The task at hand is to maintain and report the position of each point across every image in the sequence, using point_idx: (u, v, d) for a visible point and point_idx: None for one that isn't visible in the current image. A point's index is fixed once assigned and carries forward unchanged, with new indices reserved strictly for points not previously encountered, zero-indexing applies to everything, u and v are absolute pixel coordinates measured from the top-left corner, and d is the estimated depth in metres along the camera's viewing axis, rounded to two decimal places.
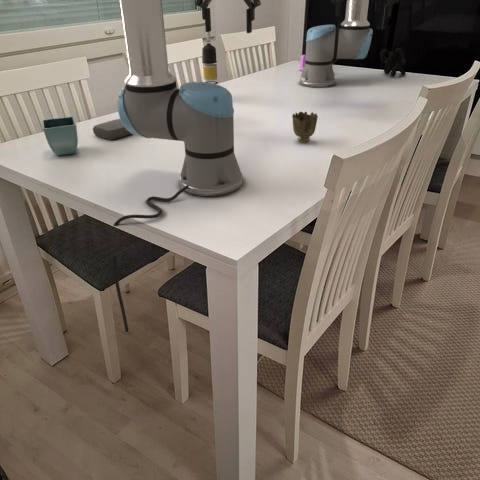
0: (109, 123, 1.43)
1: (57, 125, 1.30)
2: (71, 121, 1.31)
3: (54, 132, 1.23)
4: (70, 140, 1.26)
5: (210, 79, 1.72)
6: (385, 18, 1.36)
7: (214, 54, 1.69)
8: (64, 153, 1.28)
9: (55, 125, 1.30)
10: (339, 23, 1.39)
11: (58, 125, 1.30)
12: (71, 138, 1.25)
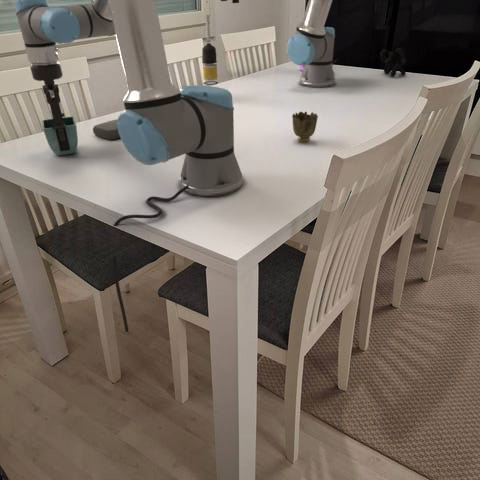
0: (109, 123, 1.43)
1: None
2: (71, 121, 1.31)
3: (54, 132, 1.23)
4: (70, 140, 1.26)
5: (210, 79, 1.72)
6: None
7: (214, 54, 1.69)
8: (64, 153, 1.28)
9: None
10: None
11: None
12: (71, 138, 1.25)
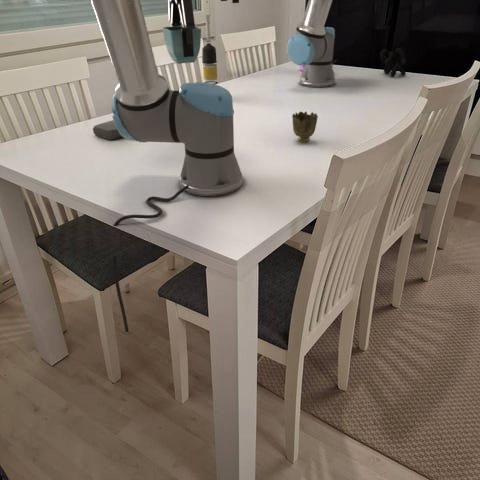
0: (109, 123, 1.43)
1: None
2: None
3: (180, 35, 1.20)
4: (194, 46, 1.23)
5: (210, 79, 1.72)
6: None
7: (214, 54, 1.69)
8: (185, 61, 1.25)
9: None
10: None
11: None
12: (195, 44, 1.23)
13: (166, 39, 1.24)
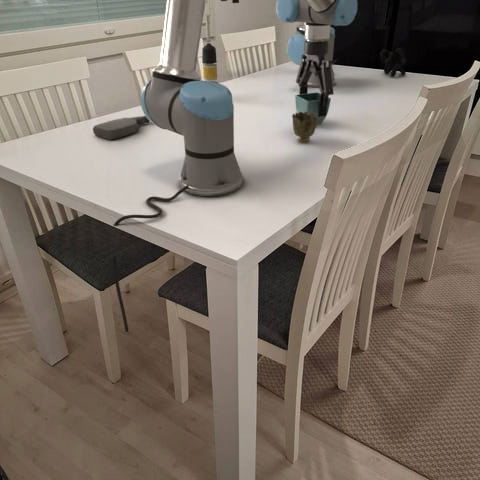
0: (109, 123, 1.43)
1: (305, 100, 1.49)
2: (316, 96, 1.50)
3: (314, 104, 1.42)
4: None
5: (210, 79, 1.72)
6: None
7: (214, 54, 1.69)
8: None
9: None
10: None
11: (305, 99, 1.49)
12: None
13: (298, 105, 1.46)
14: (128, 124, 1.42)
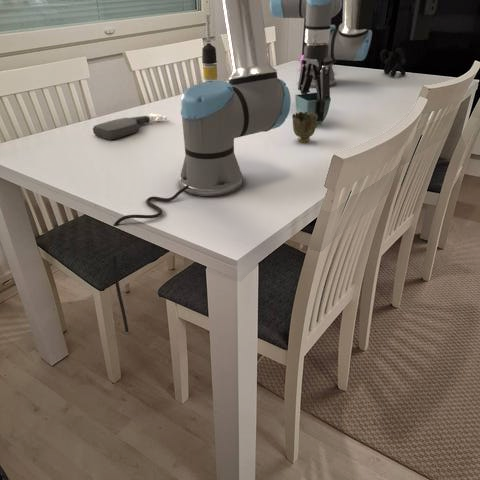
0: (109, 123, 1.43)
1: (305, 100, 1.49)
2: (315, 96, 1.50)
3: (314, 104, 1.42)
4: None
5: (210, 79, 1.72)
6: None
7: (214, 54, 1.69)
8: None
9: None
10: None
11: (305, 99, 1.49)
12: (324, 110, 1.44)
13: (298, 105, 1.46)
14: (128, 124, 1.42)
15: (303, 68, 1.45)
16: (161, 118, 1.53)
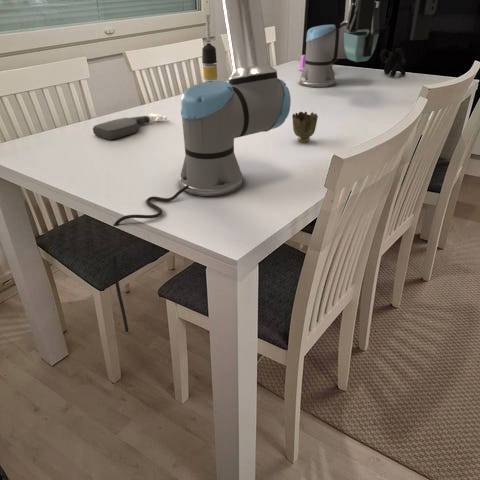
0: (109, 123, 1.43)
1: None
2: (362, 35, 1.60)
3: (363, 39, 1.52)
4: None
5: (210, 79, 1.72)
6: None
7: (214, 54, 1.69)
8: (361, 60, 1.57)
9: None
10: None
11: None
12: (372, 46, 1.55)
13: (347, 42, 1.57)
14: (128, 124, 1.42)
15: (352, 7, 1.55)
16: (161, 118, 1.53)
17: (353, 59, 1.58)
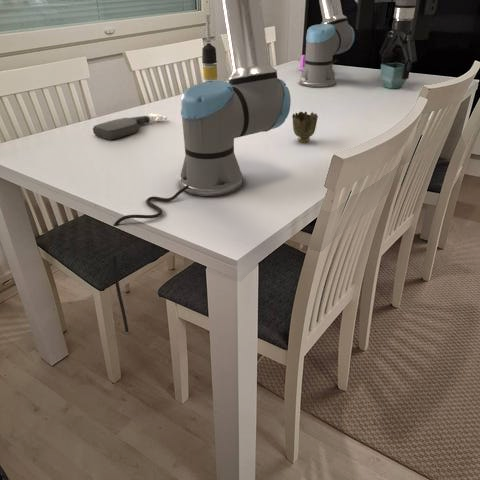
0: (109, 123, 1.43)
1: None
2: (396, 66, 1.90)
3: (398, 71, 1.82)
4: None
5: (210, 79, 1.72)
6: None
7: (214, 54, 1.69)
8: (395, 87, 1.87)
9: None
10: None
11: None
12: None
13: (384, 72, 1.87)
14: (128, 124, 1.42)
15: (388, 38, 1.84)
16: (161, 118, 1.53)
17: (388, 86, 1.88)
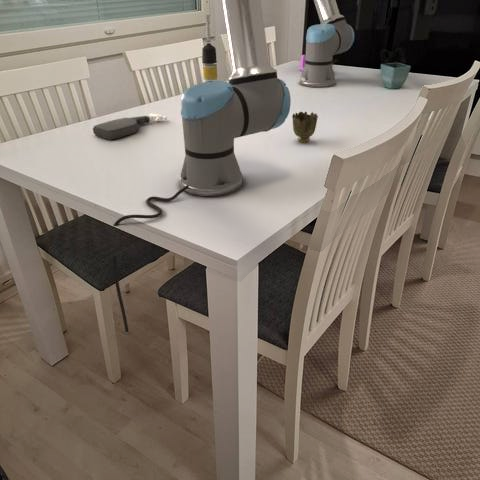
0: (109, 123, 1.43)
1: None
2: (396, 66, 1.90)
3: (398, 71, 1.82)
4: (404, 77, 1.85)
5: (210, 79, 1.72)
6: None
7: (214, 54, 1.69)
8: (395, 87, 1.87)
9: None
10: None
11: None
12: (405, 76, 1.85)
13: (384, 72, 1.87)
14: (128, 124, 1.42)
15: None
16: (161, 118, 1.53)
17: (388, 86, 1.88)
